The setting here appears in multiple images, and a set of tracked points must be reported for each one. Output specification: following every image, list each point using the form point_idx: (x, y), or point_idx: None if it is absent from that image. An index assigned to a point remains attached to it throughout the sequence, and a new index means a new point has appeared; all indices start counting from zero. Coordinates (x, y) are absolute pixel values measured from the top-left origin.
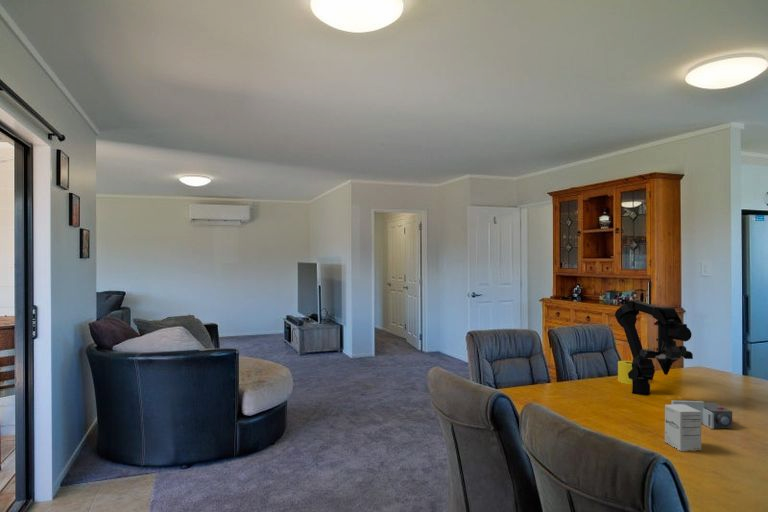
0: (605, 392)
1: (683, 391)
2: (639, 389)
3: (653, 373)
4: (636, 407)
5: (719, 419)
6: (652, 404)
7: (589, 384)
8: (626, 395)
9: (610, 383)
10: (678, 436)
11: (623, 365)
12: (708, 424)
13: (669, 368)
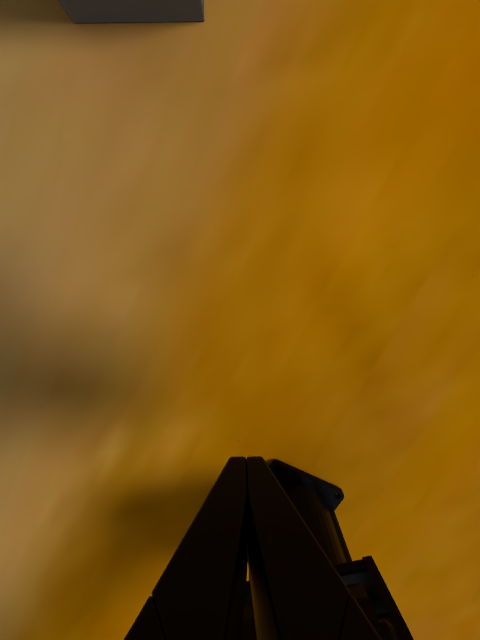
0: (476, 495)
1: (48, 542)
2: (316, 502)
3: (245, 632)
4: (473, 232)
5: None
6: (335, 305)
7: (475, 608)
8: (391, 456)
9: None
10: None
11: None
12: None
13: (188, 558)
